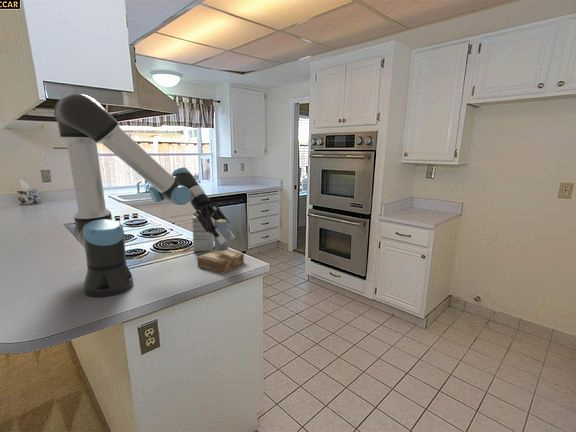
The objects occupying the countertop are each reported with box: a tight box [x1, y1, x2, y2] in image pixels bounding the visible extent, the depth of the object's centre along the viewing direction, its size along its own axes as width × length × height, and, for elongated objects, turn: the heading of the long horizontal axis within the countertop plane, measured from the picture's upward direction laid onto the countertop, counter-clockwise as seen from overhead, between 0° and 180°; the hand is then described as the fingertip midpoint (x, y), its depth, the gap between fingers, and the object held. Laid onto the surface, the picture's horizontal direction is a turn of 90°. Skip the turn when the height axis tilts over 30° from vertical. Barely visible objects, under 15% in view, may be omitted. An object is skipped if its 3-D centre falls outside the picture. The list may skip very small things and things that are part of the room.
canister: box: [214, 219, 229, 251], centre depth 128 cm, size 6×6×13 cm
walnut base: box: [197, 249, 245, 274], centre depth 131 cm, size 14×14×4 cm
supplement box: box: [191, 213, 215, 252], centre depth 147 cm, size 10×9×17 cm
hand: (228, 240), depth 127 cm, fingers closed on canister, 6 cm apart
